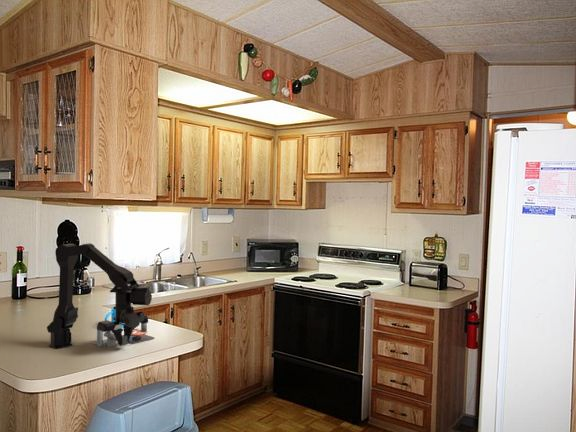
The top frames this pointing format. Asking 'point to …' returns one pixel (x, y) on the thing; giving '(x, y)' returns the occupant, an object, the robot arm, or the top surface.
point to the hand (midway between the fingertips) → (123, 344)
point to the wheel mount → (139, 339)
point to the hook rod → (110, 335)
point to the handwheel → (140, 330)
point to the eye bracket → (102, 342)
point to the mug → (112, 316)
